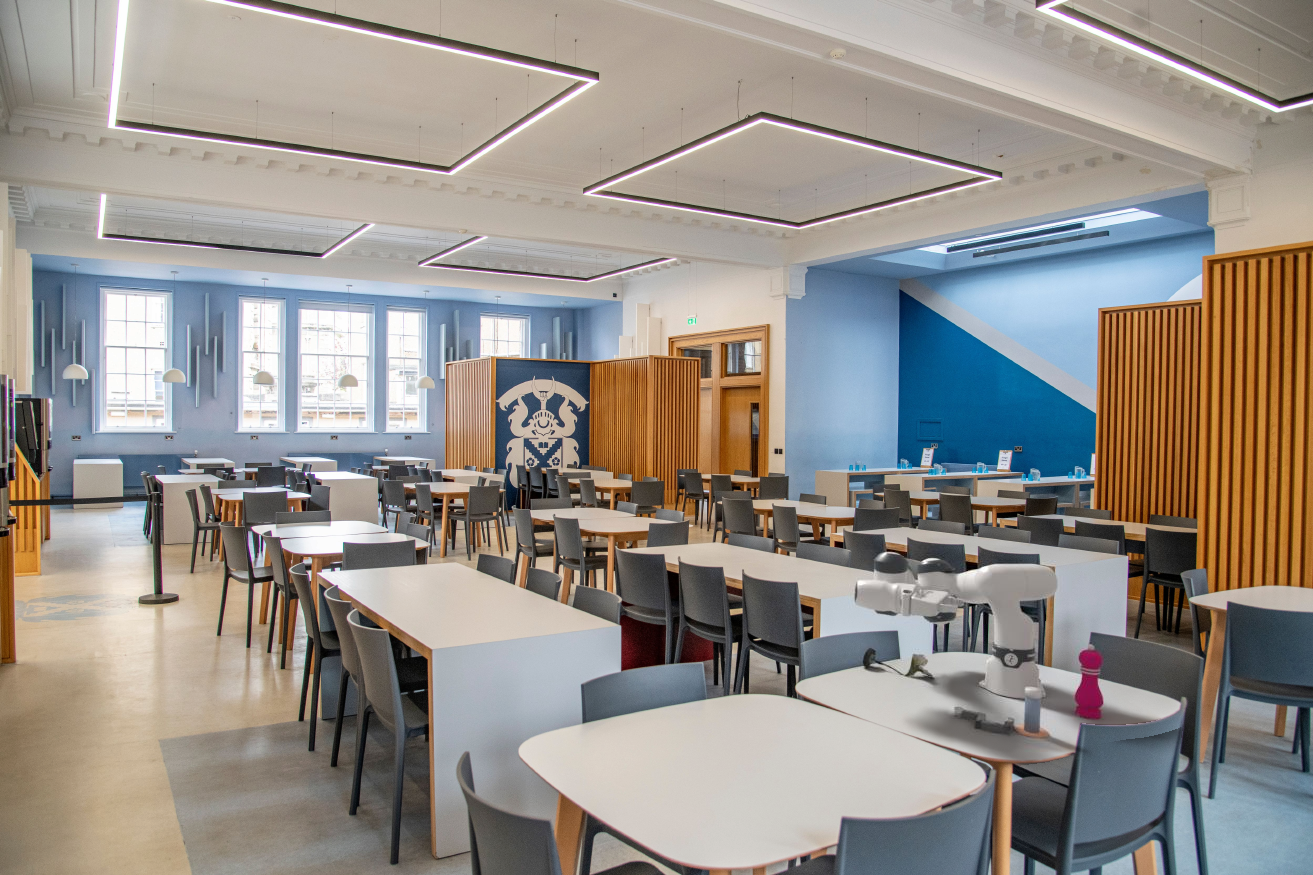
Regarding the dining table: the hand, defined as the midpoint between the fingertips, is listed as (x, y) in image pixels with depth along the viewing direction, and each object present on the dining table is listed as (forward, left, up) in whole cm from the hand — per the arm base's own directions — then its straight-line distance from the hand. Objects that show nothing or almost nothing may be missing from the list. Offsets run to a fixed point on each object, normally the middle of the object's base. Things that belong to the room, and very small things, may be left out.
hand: (960, 606), depth 229 cm
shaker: (+4, +20, -30) cm, 36 cm away
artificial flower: (-29, -22, -30) cm, 48 cm away
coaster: (+4, +20, -30) cm, 36 cm away
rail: (+6, +8, -30) cm, 32 cm away
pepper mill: (-20, +32, -30) cm, 48 cm away
